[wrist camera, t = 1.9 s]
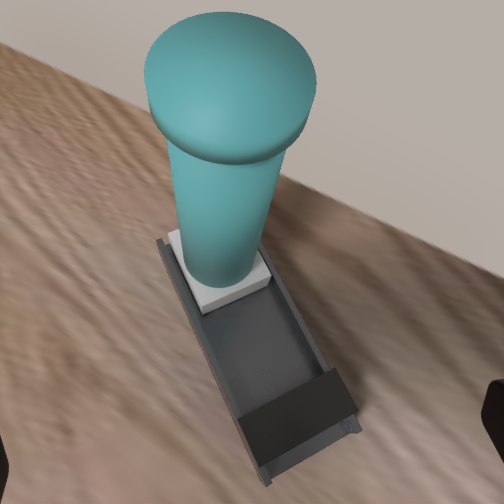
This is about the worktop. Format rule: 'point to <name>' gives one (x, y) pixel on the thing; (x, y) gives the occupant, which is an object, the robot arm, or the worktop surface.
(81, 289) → the worktop surface
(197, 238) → the teal tall cylinder
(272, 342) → the track
